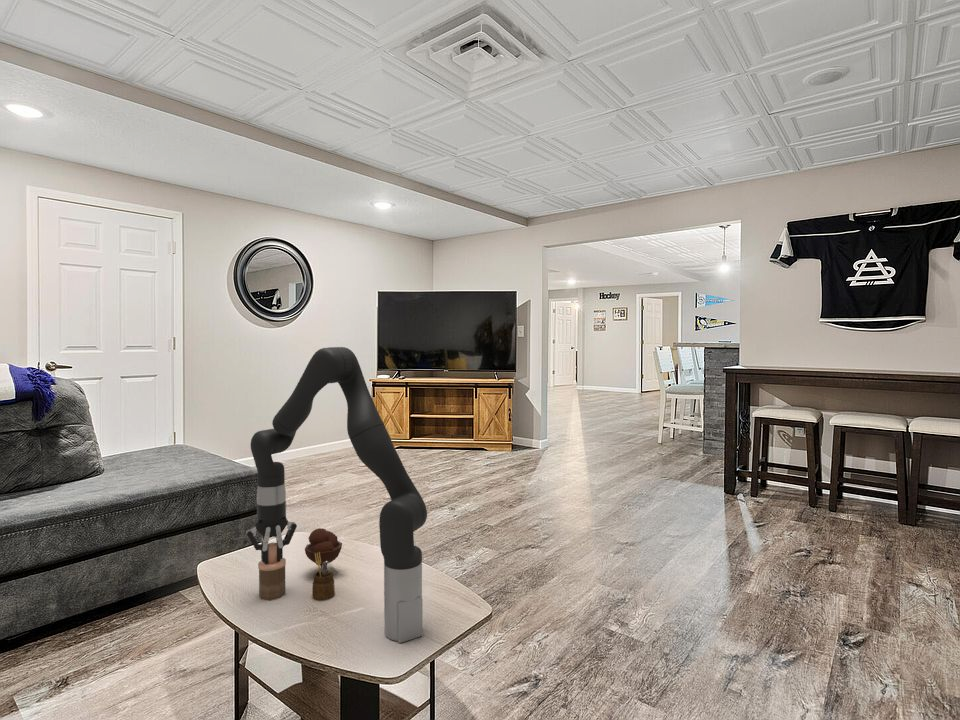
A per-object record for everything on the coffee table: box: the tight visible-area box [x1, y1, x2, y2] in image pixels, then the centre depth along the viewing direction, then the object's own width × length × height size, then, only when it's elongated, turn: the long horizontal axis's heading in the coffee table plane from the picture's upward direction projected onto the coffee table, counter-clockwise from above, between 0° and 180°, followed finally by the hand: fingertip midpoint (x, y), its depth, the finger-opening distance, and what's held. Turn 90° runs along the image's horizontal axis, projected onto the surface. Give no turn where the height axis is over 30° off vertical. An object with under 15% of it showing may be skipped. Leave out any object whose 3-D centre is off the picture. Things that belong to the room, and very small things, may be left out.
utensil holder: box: [311, 552, 336, 602], centre depth 149 cm, size 6×6×12 cm
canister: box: [258, 565, 286, 601], centre depth 150 cm, size 6×6×9 cm
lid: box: [257, 542, 287, 571], centre depth 150 cm, size 7×7×6 cm
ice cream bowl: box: [304, 527, 343, 571], centre depth 163 cm, size 11×11×15 cm
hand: (272, 561), depth 150 cm, fingers closed on lid, 2 cm apart
